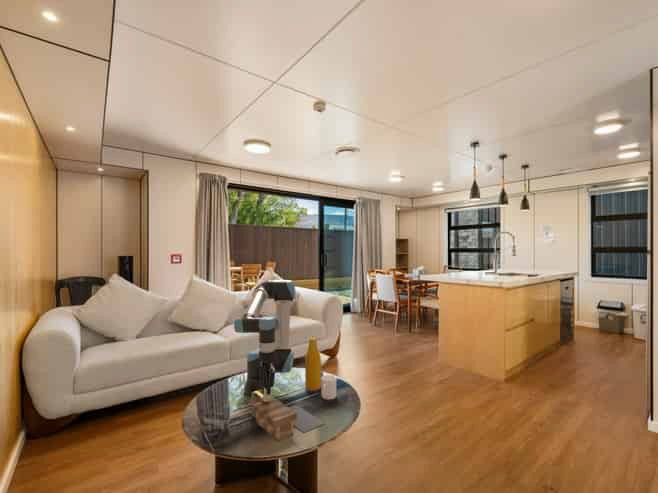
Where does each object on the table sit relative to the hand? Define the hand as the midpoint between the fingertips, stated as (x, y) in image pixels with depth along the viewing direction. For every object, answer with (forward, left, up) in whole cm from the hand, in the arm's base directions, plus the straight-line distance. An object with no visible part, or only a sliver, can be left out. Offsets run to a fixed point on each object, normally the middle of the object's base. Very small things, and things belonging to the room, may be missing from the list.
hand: (267, 400), depth 151 cm
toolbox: (+3, 0, -10) cm, 11 cm away
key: (-6, 0, -1) cm, 6 cm away
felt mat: (+7, +14, -10) cm, 18 cm away
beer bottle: (-17, +40, -10) cm, 45 cm away
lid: (+7, 0, -4) cm, 8 cm away
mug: (-1, +38, -10) cm, 39 cm away
